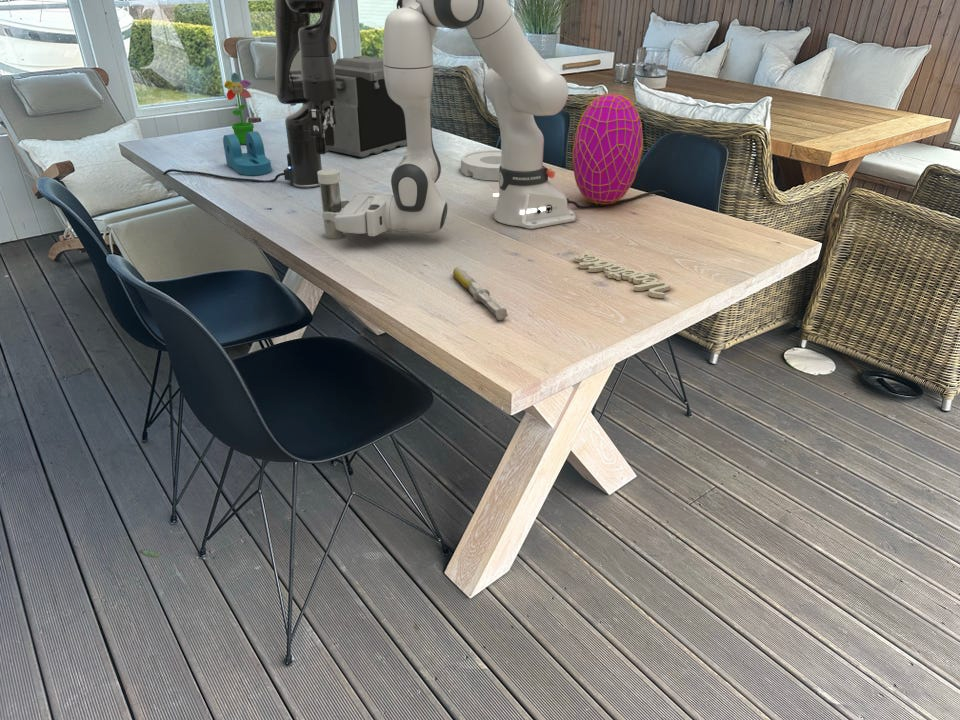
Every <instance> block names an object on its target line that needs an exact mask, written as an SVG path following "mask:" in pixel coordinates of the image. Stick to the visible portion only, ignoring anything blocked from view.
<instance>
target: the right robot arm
mask: <svg viewBox="0 0 960 720" xmlns="http://www.w3.org/2000/svg"><path fill="white" fill-rule="evenodd" d="M438 28H446V29H450V30H460V29H464V28H465V29H466V31H467V33H468V35H469V37H470V38H471V40H472V42H473V44H474V46H475V47H476V49H477V51H478V53H479V55H480V57H481V59H482V60H483V62H484V64H485V65H486V66H487V67H488V68H489V69H488V70H487V72H486V74H485V76H484V81H483V90H484V93H485V96H486V98H487V99H488V100H489V102H490V103H491V105H492V108H493V110H494V112H495V116H496V119H497V123H498V128H499V132H500V150H501V165H500V166H499V179H498V180H499V181H498V188H499V189H498V193H493V194H492V196H493V197H498V198H497V203H496V208H495V210H494V214H493V219H494V220H495V221H496V222H498V223H500V224H503V225H508V226H513V227H519V228H524V229H529V230H534V229H539V228H544V227H550V226H555V225H561V224H566V223H571V222H575V221H576V214H575V212H574V211H573V210H572V209H571V208H570V207H569V204H570V205H571V204H572V205H574V206H575V207H576V208H578V209H593V208H597V207H602V206H608V205H610V204H596V203H595V204H590V205H580V204H578V203H577V202H576V201H573V200H570V198H568V197H567V196H566V194H565V193H564V191H562V190H561V189H560V188H559V187H558V186H556V185H555V184H554V183H553V182H552V181H550V180H549V178H550V179H553V178H555V176H556V171H555V170H553V169H552V168H548V167H546V166H544V165H543V164H544V146H545V137H544V135H543V132H542V130H541V129H540V128H539V127H538V125H537V123H536V120H535V117H548V116H549V117H550V116H555V115H557V114H559V113H560V112H561V111H562V110H563V109H564V107H565V106H566V103H567V102H568V99H569V98H568V97H569V85H568V82H567V80H566V78H565V77H564V76H562V75H561V74H560V73H559V72H557V71H556V70H555V69H553V68H552V67H551V66H550V65H549V63H547V62H546V61H545V60H544V58H543V57H542V56H541V55H540V54H539V52H538V51H537V49H536V48H535V47H534V46H533V45H532V44H531V43H530V41H529V40H528V38H527V37H526V34H525V33H524V31H523V30H522V29H523V28H521V26H520V24H519V22H518V19H517V17H516V16H515V14H514V11H513V9H512V7H511V5H510V3H509V1H508V0H397V2H396V9H394V10H393V11H391V12H390V13H388V14H387V16H386V18H385V20H384V28H383V38H382V40H383V41H382V58H383V71H384V80H385V85H386V89H387V93H388V95H389V97H390V98H391V99H392V100H393V101H394V102H395V103H396V104H398V105H400V106H401V108H402V109H403V112H404V115H405V124H406V136H407V145H406V150H405V153H404V155H403V158H402V160H401V161H400V162H399V163H398V165H397V166H395V168H394V169H393V172H392V173H391V178H390V185H391V190H392V191H391V192H392V194H377V193H370V192H358V193H356V194H355V195H354V197H352V198H351V199H350V198H349V199H343V200H341V208H342V210H341V211H340V212H336V213H332V212H331V211H324V212H323V211H322V213H321V214H322V219H323V221H324V220H331V221H333V222H335V226H336V229H337V230H339V231H341V232H344V233H349V234H359V235H360V234H367V236H368V237H376V236H378V235H380V234H383V233H387V232H399V231H404V232H408V233H414V234H415V233H416V234H429V233H437V232H439V231H441V230H442V229H443V227H444V224H445V223H446V219H447V215H448V202H447V201H446V200H445V199H444V198H443V196H442V195H441V194H440V192H439V190H438V188H437V186H436V183H437V181H438V180H439V178H440V176H441V174H442V166H441V161H440V159H439V156H438V153H437V151H436V149H435V145H434V141H433V127H432V125H433V124H432V114H431V113H432V112H431V106H432V105H431V104H432V95H433V87H434V53H433V52H434V51H433V43H434V38H435V36H436V33H437V31H438ZM659 193H662V194H663V195H665V196H668V195H669V194H668V193H667V192H666V191H665V190H662V189H657V190H653V191H649V192H645V193H641V194H638V195H636V196H632V197H628V198H624V199H620V200H618V201H617V202H615V203H612V204H611V205H615V204H620V203H622V204H623V203H626V202H630V201H634V200H636V199H639V198H641V197H645V196H650V195H654V194H659Z"/></svg>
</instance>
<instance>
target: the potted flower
mask: <svg viewBox="0 0 960 720" xmlns="http://www.w3.org/2000/svg"><path fill="white" fill-rule="evenodd" d="M251 84H252V82H251V81H250V80H248V79H242V80H240V76H239V75H238V74H237V72H233V73H232V74H231V77H230V80H226V81H225V82H224V85H223V87H224V88H225V89H227V92H226V98H227V100H229V101H231V100H234V98H235V97H236V98H237V104H238V109H235V110H233V111H232V112H231V113H232V115H235V116H239V118H240V122H236V123H232V124H231V128H232V130H233V134H235V135H236V136H237V138H238V140H239V142H240V145H246V139H245V137H246V133H247V132H254V125H255V124H254V123H253V122H247V121H246V122H244V119H243V112H242V110H244V109H245V108H246V104H241V100H240V96H241V97H242V98H245V99H250V98H252V94H251V92H250V91H249V90H247V89H246V88H249V87H250V86H251Z"/></svg>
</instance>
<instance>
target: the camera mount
mask: <svg viewBox="0 0 960 720" xmlns="http://www.w3.org/2000/svg"><path fill="white" fill-rule="evenodd" d="M245 139H246V144H245V146H246V152H243V151H242V150H243V149H242V145H241V144H240V142H239V140H238V138H237V136H236V135H235V134H234V133H231V134H224V135H223V138H222V140H223V141H222V143H223V149H224V150H223V151H224V156H225V161H226V165H227V166H228V167H230V168H231V169H232V170H234V171H236V172H237V173H238V174H239V175H244V176H260V175H265V174H268V173H271V172H272V164H271V159H270V158H268V157H267V156H266V153H265V145H264V141H263V139H262V136H261V134H260V132H258V131H253V132H247V133H246V137H245Z"/></svg>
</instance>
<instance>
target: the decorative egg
mask: <svg viewBox="0 0 960 720" xmlns="http://www.w3.org/2000/svg"><path fill="white" fill-rule="evenodd" d="M643 146H644V136H643V124H642V120H641V116H640V113H639V111H638V109H637V107H636V105H635V103H634V102H633V101H632V100H631V99H630V98H629V97H627V96H625V95H622V94H620V93H614V92H613V93H612V92H611V93H610V92H609V93H604V94H601V95H598V96H596V97H594V98H593V99H592V100H590V101H589V103H588V104H587V106H586V107H585V109H584V111H583V112H582V114H581V116H580V118H579V120H578V122H577V127H576V130H575V135H574V140H573V146H572V153H571V158H572V159H571V160H572V169H573V178H574V180H575V182H576V186H577V188H578V190H579V192H580V194H581V195H582V196H583V197H584V198H585V199H586V200H587V201H588V202H590V203H593V204H595V205H596V204H609V205H613V204H612V203H615V202H617V201H619V200H622V199H623V198H624V196H625V195H626V194H627V193H628V191H629V190H630V189H631V186H632V185H633V183H634V181H635V179H636V176H637V172H638V170H639V166H640V162H641V159H642V155H643V148H644V147H643Z"/></svg>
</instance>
